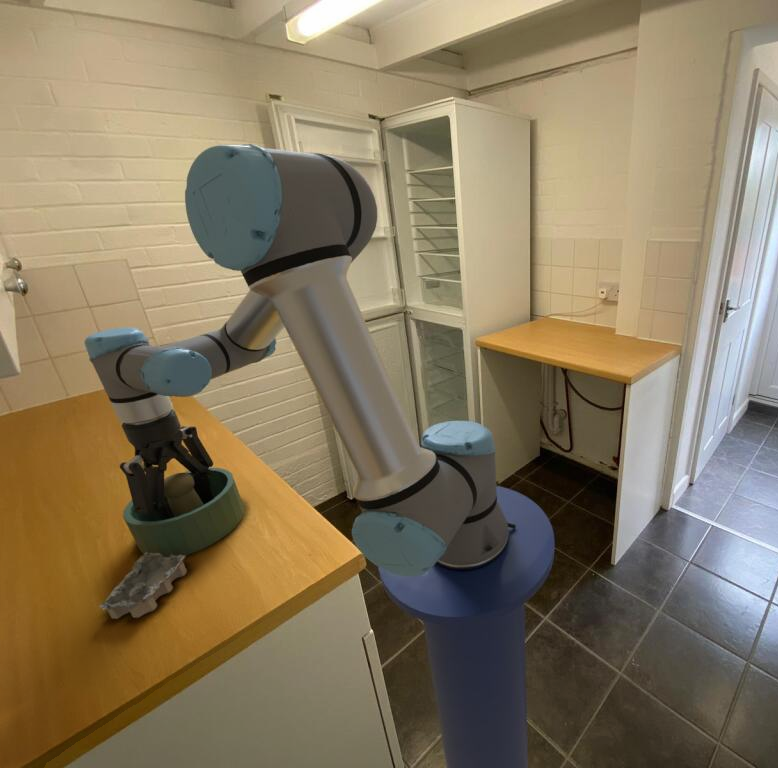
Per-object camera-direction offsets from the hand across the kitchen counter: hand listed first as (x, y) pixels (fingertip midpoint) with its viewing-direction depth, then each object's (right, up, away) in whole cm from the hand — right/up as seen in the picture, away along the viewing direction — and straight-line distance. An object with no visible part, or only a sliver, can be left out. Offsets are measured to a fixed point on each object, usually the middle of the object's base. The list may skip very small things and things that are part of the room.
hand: (191, 516), depth 83 cm
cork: (0, -2, +1) cm, 2 cm away
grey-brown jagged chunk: (+4, -8, -13) cm, 16 cm away
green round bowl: (0, -2, +1) cm, 2 cm away
